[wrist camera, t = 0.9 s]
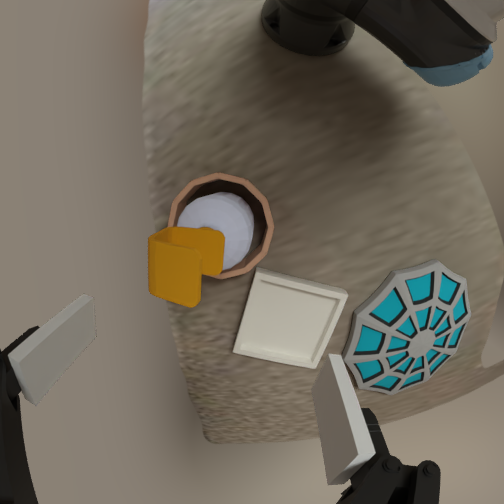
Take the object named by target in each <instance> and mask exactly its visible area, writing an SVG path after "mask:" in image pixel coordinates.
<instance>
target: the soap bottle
mask: <svg viewBox="0 0 504 504" xmlns="http://www.w3.org/2000/svg"><path fill="white" fill-rule="evenodd" d="M253 231H254V215H253V213H252V210H251V208H250V206H249V204H248V203H247V202H246V201H245V200H244V199H243V198H242V197H240V196H238V195H236V194H233V193H229V192H218V193H215V194H211V195H207V196H204V197H201V198H197V199H195V200H194V201H193V202H191V203H190V204H189V205H187V206H186V207H185V209H184V210H183V212H182V213H181V215H180V217H179V219H178V223H177V226H174V227H167V228H164V229H163V230H161V231H159V232H157V233H155V234H153V235H151V236H150V237H149V238H148V279H149V292H150V293H151V294H152V295H154V296H156V297H159V298H162V299H165V300H168V301H171V302H174V303H177V304H180V305H184V306H187V307H190V308H191V307H195V306H196V305H198V303H199V302H200V300H201V277H202V274H204V275H213V276H216V275H218V274H220V273H221V271H222V270H226V269H230V268H232V267H233V266H235V265H236V264H238V263H239V262H241V261H242V259H243V258H244V257H245V255H246V254H247V253H248V251H249V248H250V245H251V241H252V237H253Z"/></svg>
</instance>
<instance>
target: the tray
mask: <svg viewBox="0 0 504 504" xmlns="http://www.w3.org/2000/svg"><path fill="white" fill-rule="evenodd" d="M347 297H348V294H347V292H346V291H345V290H344V289H342V288H338V287H334V286H330V285H326V284H322V283H318V282H314V281H310V280H306V279H302V278H298V277H294V276H291V275H287V274H283V273H279V272H275V271H271V270H267V269H264V268H260V267H256V270H255V273H254V277H253V280H252V284H251V287H250V291H249V294H248V298H247V301H246V305H245V308H244V312H243V315H242V319H241V322H240V325H239V329H238V332H237V336H236V339H235V343H234V347H233V352H234V353H238V354H242V355H246V356H251V357H255V358H260V359H265V360H269V361H274V362H279V363H285V364H290V365H296V366H301V367H307V368H314V369H315V368H316V366H317V364H318V362H319V360H320V358H321V356H322V354H323V352H324V350H325V348H326V346H327V344H328V341H329V339H330V337H331V335H332V333H333V330H334V328H335V326H336V324H337V321H338V319H339V317H340V314H341V312H342V310H343V307H344V305H345V302H346V300H347Z"/></svg>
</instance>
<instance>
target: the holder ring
mask: <svg viewBox="0 0 504 504" xmlns="http://www.w3.org/2000/svg"><path fill="white" fill-rule="evenodd" d="M221 179H223V180H227V181H231V182H235V183H239V184H243V185H244V186H245V187H246V188H247V189H248V190H249V191H250V192H251V193H252V194H253V195H254V196H255V197H256V198H257V199H258V200H259V201H260V202H261V203H262V206H263V209H264V213H265V217H266V221H267V225H266V228H265V232H264V236H263V239H262V243H261V244H260V245H259V246H258V247H257V248H256V249H255V250H254V251H253V252H252V253H250V254H249V255H248V256H247V257H246V258H244V259H242V261H241V262H239V263H238V264H236V265H235V266H233V267H232V268H230V269H226V270H222V271H221V273H220V274H218V275H216V276H213V275H207V276H210V277H214V278H218V279H225V278H229V277H233V276H237V275H241V274H245V273H248V272H249V271H250V270H251V269H252V268H253V267H254V266H255V265H256V264H257V263H258V262H259V261H260V260H261V259H262V258H264V257H265V256H266V254H267V252H268V249H269V245H270V242H271V238H272V235H273V231H274V223H273V219H272V216H271V212H270V208H269V204H268V200H267V198H266V196H265V195H264V194H263V193H262V192H261V191H260V190H259V189H258V188H257V187H256V186H255V185H253V184H252V183H251V182H250V181H249V180H248V179H245V178H241V177H237V176H233V175H229V174H225V173H220V172H219V173H218V172H217V173H214V174H210V175H207V176H204V177H201V178H198V179H194V180H192V181H190V182H189V183H188V185H187V186H186V187H185V188H184V189H183V190H182V191H181V192H180V193H179V195H178V196H177V197H176V198H175V199H174V200H173V201H174V202H172V206H171V211H170V216H169V221H168V226H167V227H174V226H177V223H178V219H179V217H180V215H181V213H182V212H183V210H184V209H185V207H186V205H187V201H188V200H189V199H190V198H191V197H192V195H193V194H194V193H195V192H196V191H197V190H198V189H199V188H200V187H201V186H202V185H204V184H207V183H211V182H214V181H217V180H221ZM203 275H204V274H203Z"/></svg>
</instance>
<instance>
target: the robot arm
mask: <svg viewBox="0 0 504 504" xmlns="http://www.w3.org/2000/svg"><path fill="white" fill-rule="evenodd" d="M503 18H504V0H266V1H265V3H264V5H263V9H262V23H263V26H264V28H265V30H266V32H267V33H268V35H269V36H270V37H271V38H272V39H273V40H274V41H275V42H277V43H278V44H280V45H281V46H283V47H285V48H287V49H289V50H291V51H294V52H297V53H301V54H305V55H315V56H320V55H328V54H332V53H335V52H337V51H339V50H341V49H342V48H344V47H345V46H346V45H347V43H348V42H349V40H350V39H351V37H352V36H353V33H354V29H355V24H357V25H358V26H360V27H361V28H362V29H364V30H365V31H367V32H368V33H369V34H371V35H372V36H373V37H375V38H376V39H377V40H379V41H380V42H381V43H382V44H384V45H385V46H386V47H387V48H389V49H390V50H391V51H392V52H393V53H394V54H396V55H397V56H398V57H399V58H400V59H401V60H403V63H404V64H405V65H406V66H407V67H409V68H410V69H412V70H414V71H415V72H416V73H417V74H418V75H419V76H420V77H421V78H422V79H424V80H425V81H426V82H428V83H429V84H432V85H435V86H441V87H442V86H451V85H455V84H459V83H461V82H464V81H466V80H468V79H470V78H472V77H474V76H475V75H477V74H478V73H479V70H481V69H484V68H486V67H487V66H488V65H489V64H490V62H491V60H492V58H493V50H492V47H491V43H493V42H495V41H496V40H497V30H496V24H497V22H498V21H500V20H501V19H503ZM96 337H97V336H96V323H95V308H94V297H92V296H89V295H86V294H82V295H81V296H80V297H78V298H77V299H76V300H75V301H73V302H72V303H71V304H69V305H68V306H67V307H65V308H64V309H63V310H61V311H60V312H59V313H58V314H56V315H55V316H54V317H52V318H51V319H50V320H49V321H47V322H46V323H45V324H44V325H43V326H41V327H38V326H36V327H33V328H30V329H28V330H27V331H26V332H25V333H23V335H21V336H20V337H19V338H18V339H16V340H15V341H14V342H13V343H11V344H10V345H9V346H8V347H7V348H5V349H4V350H3V351H2V352H1V350H0V504H38V501H37V498H36V494H35V491H34V487H33V483H32V479H31V475H30V471H29V467H28V462H27V457H26V451H25V445H24V439H23V431H22V422H21V411H20V398H19V395H18V394H19V393H20V392H21V391H22V393H23V395H24V397H25V399H26V400H28V401H30V402H31V403H32V404H34V405H35V406H37V404H38V403H39V402H40V401H41V400H42V398H43V397H44V396H45V395H46V393H47V392H48V391H49V390H50V389H51V388H52V386H53V385H54V384H55V383H56V382H57V381H58V379H59V378H60V377H61V376H62V375H63V374H64V372H65V371H66V370H67V369H68V368H69V367H70V366H71V364H72V363H73V362H74V361H75V360H76V359H77V358H78V357H79V355H80V354H81V353H82V352H83V351H84V350H85V349H86V348H87V346H88V345H89V344H90V343H91V342H92V341H93V340H94V339H95V338H96ZM311 390H312V395H313V401H314V406H315V411H316V417H317V423H318V428H319V434H320V439H321V446H322V451H323V457H324V464H325V470H326V476H327V483H328V485H338V484H344V483H345V482H347V481H348V480H349V479H350V480H351V486H350V487H348V488H347V489H346V490H345V491H343V492H342V493H341V494H342V497H341V498H340V499H339V501H338V502H337V503H336V504H439V493H440V468H439V467H438V465H437V464H436V463H435V462H433V461H430V460H429V461H428V460H426V461H423V462H421V463H420V464H419V465H418V466H409V465H403V464H402V463H401V462H400V460H399V459H398V458H396V457H395V456H391V455H390V453H389V451H388V448H387V445H386V443H385V440H384V437H383V435H382V432H381V429H380V426H379V425H378V421H377V419H376V416H375V415H374V413H373V412H372V411H371V410H370V409H369V408H360V405H359V402H358V400H357V397H356V394H355V391H354V388H353V386H352V383H351V380H350V378H349V375H348V372H347V370H346V367H345V364H344V362H343V359H342V357H341V355H335V354H328V355H327V357H326V360H325V362H324V364H323V366H322V368H321V371H320V373H319V375H318V377H317V379H316V381H315V383H314V385H313V387H312V389H311Z"/></svg>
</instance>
